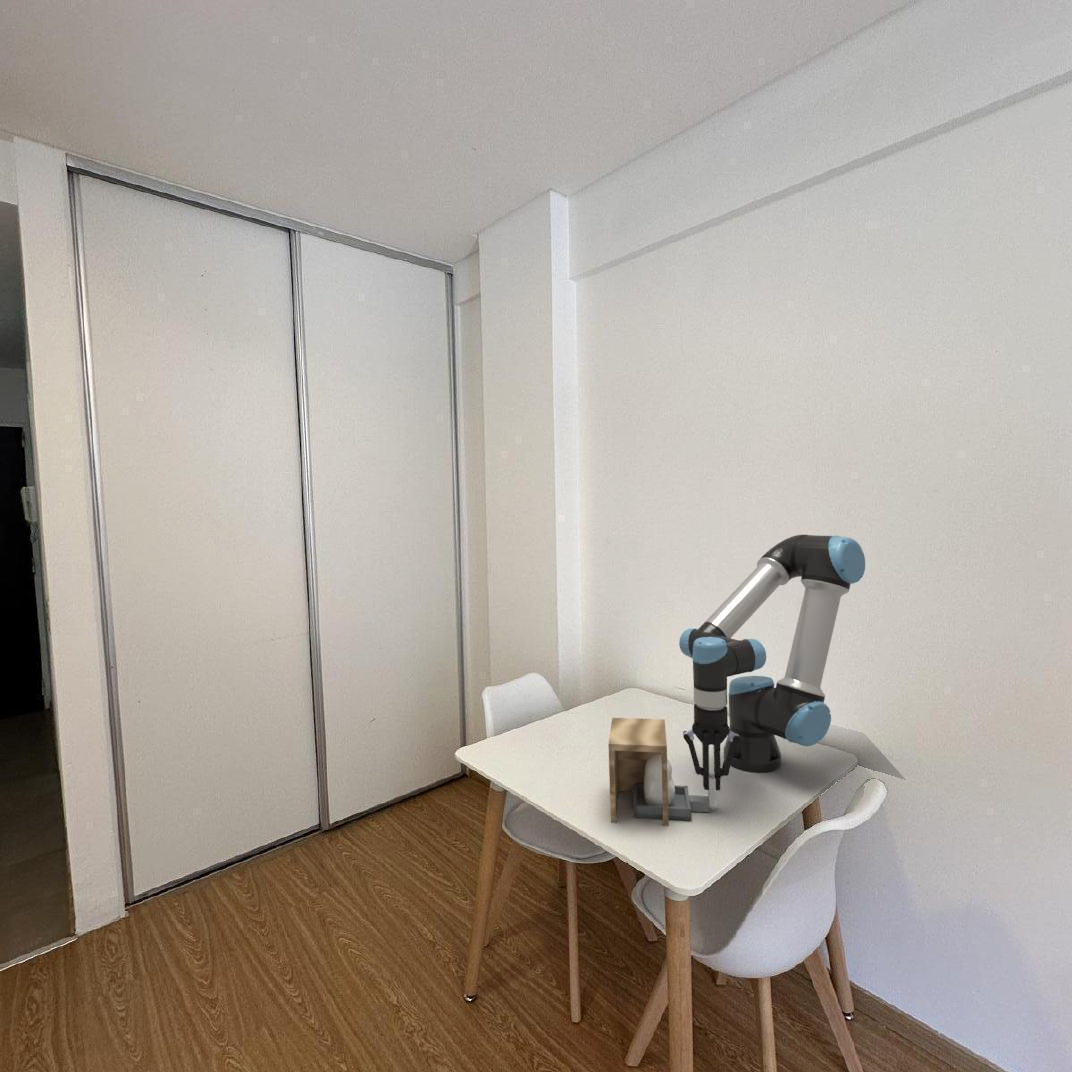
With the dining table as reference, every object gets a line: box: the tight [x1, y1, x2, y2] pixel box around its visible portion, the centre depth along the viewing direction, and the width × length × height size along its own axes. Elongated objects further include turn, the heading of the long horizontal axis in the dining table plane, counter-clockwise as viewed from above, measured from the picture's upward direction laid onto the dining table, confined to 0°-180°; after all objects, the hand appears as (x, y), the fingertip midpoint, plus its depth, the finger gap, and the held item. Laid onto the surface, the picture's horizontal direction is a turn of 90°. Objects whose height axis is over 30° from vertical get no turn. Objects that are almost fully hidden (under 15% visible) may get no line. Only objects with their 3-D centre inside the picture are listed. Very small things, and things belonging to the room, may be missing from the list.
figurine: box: [644, 754, 675, 806], centre depth 142 cm, size 7×8×12 cm
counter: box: [608, 717, 670, 827], centre depth 143 cm, size 13×16×18 cm
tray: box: [632, 783, 710, 821], centre depth 142 cm, size 18×11×3 cm, turn 80°
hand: (712, 802), depth 140 cm, fingers closed
